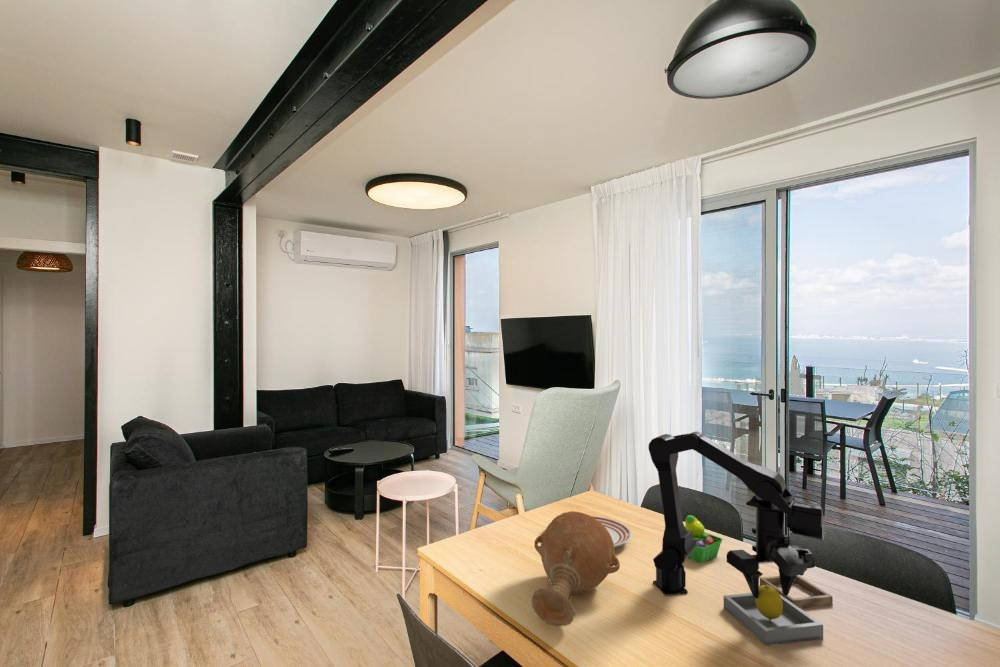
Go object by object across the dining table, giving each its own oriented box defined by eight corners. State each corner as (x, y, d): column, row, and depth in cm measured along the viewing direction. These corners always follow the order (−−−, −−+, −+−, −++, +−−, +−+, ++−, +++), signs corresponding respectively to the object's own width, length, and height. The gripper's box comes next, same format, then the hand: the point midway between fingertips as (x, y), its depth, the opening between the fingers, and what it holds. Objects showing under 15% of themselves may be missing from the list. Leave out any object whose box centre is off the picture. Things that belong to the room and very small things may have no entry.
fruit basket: (702, 566, 133) (702, 526, 133) (675, 555, 140) (675, 517, 140) (723, 556, 140) (723, 518, 140) (696, 545, 147) (696, 509, 147)
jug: (634, 536, 125) (617, 608, 97) (594, 581, 131) (566, 660, 103) (575, 486, 130) (543, 540, 103) (538, 531, 136) (498, 594, 108)
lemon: (788, 627, 103) (785, 592, 103) (761, 626, 104) (758, 591, 104) (778, 612, 108) (775, 578, 108) (753, 611, 109) (750, 578, 109)
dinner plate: (531, 544, 147) (531, 534, 147) (566, 517, 170) (566, 508, 171) (616, 567, 133) (616, 555, 133) (641, 534, 156) (641, 524, 156)
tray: (766, 645, 98) (766, 631, 98) (723, 608, 112) (723, 595, 112) (823, 638, 100) (823, 624, 101) (774, 602, 114) (774, 590, 114)
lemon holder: (793, 608, 112) (793, 600, 112) (759, 585, 123) (759, 577, 123) (832, 604, 114) (832, 596, 114) (796, 581, 125) (796, 574, 125)
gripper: (759, 545, 97) (759, 621, 97) (835, 539, 100) (836, 612, 100) (724, 525, 108) (725, 592, 108) (794, 520, 111) (795, 585, 111)
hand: (770, 596), depth 106 cm, fingers open, 7 cm apart
